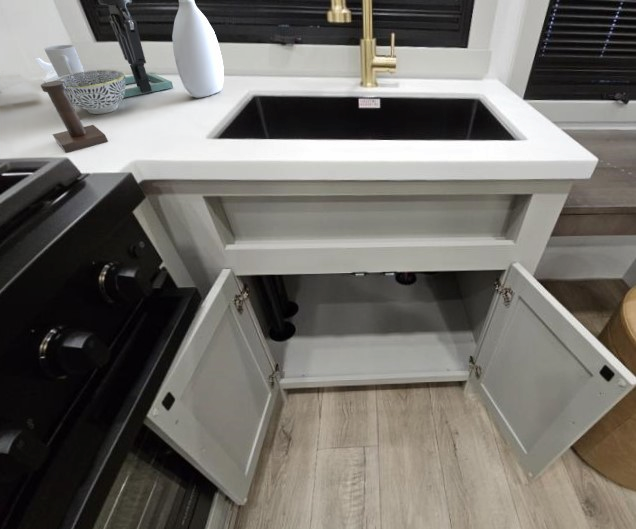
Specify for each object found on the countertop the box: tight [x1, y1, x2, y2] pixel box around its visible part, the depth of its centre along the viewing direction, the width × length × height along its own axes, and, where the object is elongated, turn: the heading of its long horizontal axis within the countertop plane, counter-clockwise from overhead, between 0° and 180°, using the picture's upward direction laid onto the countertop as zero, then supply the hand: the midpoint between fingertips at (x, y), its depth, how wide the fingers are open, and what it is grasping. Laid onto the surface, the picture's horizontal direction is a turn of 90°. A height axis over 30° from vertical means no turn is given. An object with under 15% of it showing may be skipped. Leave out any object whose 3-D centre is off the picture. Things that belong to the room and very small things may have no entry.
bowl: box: [54, 69, 126, 115], centre depth 81 cm, size 16×16×8 cm
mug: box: [43, 44, 85, 77], centre depth 87 cm, size 10×7×12 cm, turn 33°
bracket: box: [35, 57, 59, 83], centre depth 102 cm, size 13×7×8 cm, turn 28°
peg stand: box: [39, 81, 109, 153], centre depth 65 cm, size 8×8×11 cm
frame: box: [123, 72, 174, 99], centre depth 98 cm, size 16×16×2 cm
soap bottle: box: [171, 0, 225, 99], centre depth 84 cm, size 14×8×27 cm, turn 145°
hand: (145, 90), depth 94 cm, fingers closed on frame, 2 cm apart
